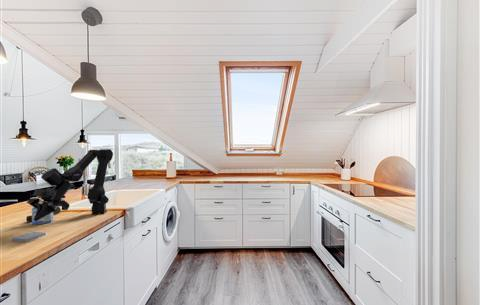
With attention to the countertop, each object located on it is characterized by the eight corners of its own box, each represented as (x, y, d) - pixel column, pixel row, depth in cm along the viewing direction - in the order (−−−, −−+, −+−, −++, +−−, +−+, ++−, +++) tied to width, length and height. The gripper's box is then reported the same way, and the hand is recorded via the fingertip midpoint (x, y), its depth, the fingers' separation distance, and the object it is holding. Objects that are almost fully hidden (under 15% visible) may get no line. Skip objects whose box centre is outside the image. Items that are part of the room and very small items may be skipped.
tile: (31, 231, 101) (11, 237, 94) (45, 232, 99) (26, 239, 92) (31, 235, 101) (11, 241, 94) (45, 236, 99) (26, 243, 92)
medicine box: (31, 225, 113) (31, 208, 113) (34, 222, 117) (34, 206, 117) (51, 222, 117) (50, 206, 117) (53, 220, 121) (53, 204, 121)
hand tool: (32, 223, 117) (32, 214, 117) (25, 223, 117) (25, 214, 117) (64, 213, 136) (64, 205, 136) (58, 213, 136) (58, 205, 136)
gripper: (31, 181, 106) (2, 210, 95) (63, 182, 102) (37, 212, 91) (48, 194, 114) (24, 222, 103) (78, 195, 110) (57, 224, 99)
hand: (34, 220), depth 99 cm, fingers closed
